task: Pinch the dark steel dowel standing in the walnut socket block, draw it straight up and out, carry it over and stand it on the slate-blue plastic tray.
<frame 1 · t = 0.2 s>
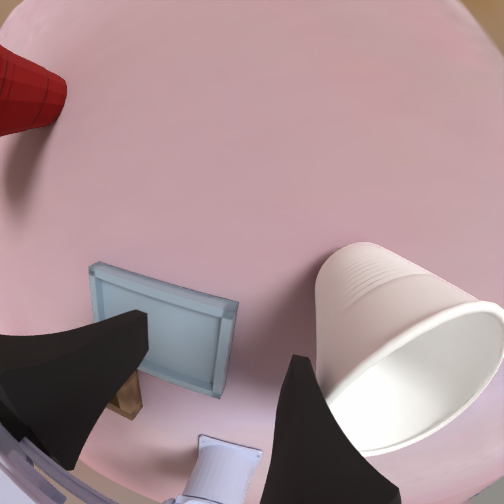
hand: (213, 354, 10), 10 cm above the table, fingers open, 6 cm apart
plastic cup: (54, 101, 20), on the table
socket block: (112, 374, 27), on the table
tray: (158, 328, 23), on the table
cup: (354, 279, 18), on the table, touching gripper
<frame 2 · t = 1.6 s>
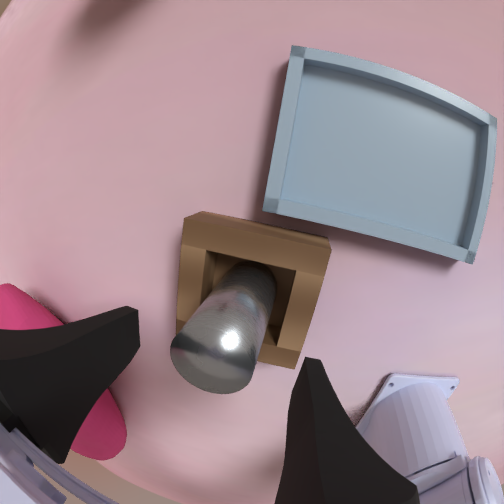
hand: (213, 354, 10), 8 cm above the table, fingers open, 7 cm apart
dowel: (250, 285, 17), point 1 cm above the table, touching socket block
socket block: (252, 282, 18), on the table
tray: (393, 154, 14), on the table
cushion: (82, 361, 25), on the table
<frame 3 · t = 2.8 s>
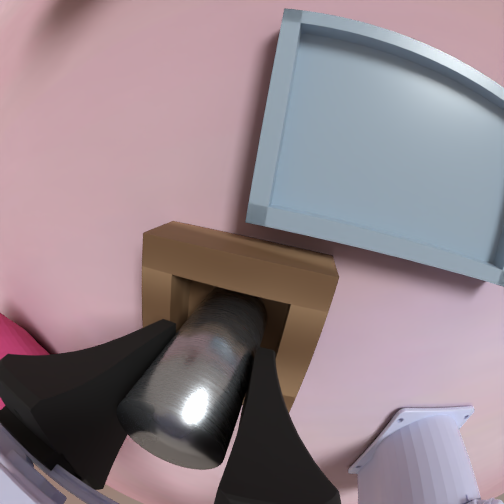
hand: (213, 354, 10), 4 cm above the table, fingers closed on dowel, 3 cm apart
dowel: (234, 314, 14), resting on socket block, touching gripper
socket block: (236, 310, 14), on the table
tray: (417, 147, 10), on the table
cushion: (61, 379, 22), on the table
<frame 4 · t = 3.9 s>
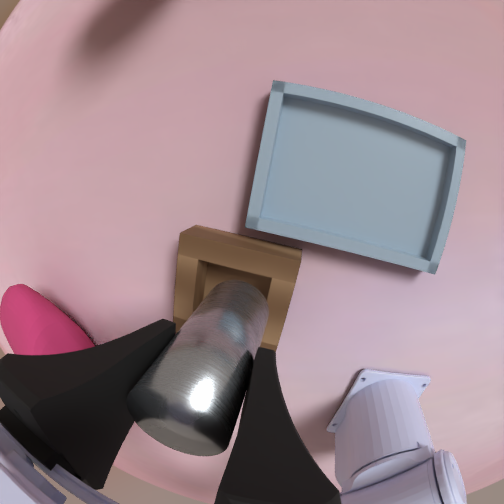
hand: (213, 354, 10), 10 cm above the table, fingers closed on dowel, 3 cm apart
dowel: (236, 309, 14), point 6 cm above the table, touching gripper
socket block: (238, 286, 21), on the table
tray: (362, 176, 17), on the table
cushion: (86, 355, 28), on the table
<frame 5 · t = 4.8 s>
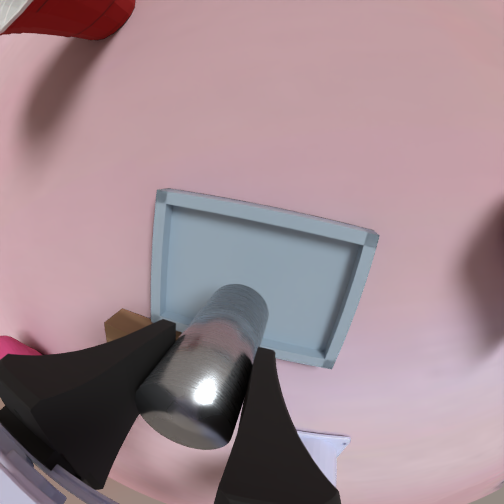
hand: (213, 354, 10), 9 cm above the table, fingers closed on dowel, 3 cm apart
plastic cup: (113, 16, 15), on the table
dowel: (238, 312, 15), point 4 cm above the table, touching gripper
socket block: (160, 357, 23), on the table
tray: (253, 278, 19), on the table
cushion: (66, 386, 30), on the table
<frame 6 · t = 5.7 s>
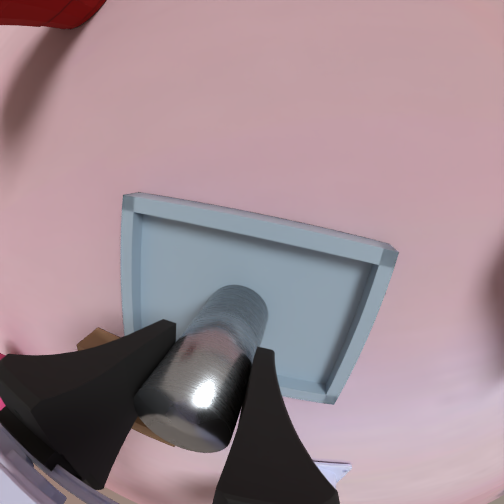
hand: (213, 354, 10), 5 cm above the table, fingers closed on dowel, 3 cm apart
plastic cup: (90, 3, 11), on the table
dowel: (237, 313, 15), point 1 cm above the table, touching gripper, tray
socket block: (141, 381, 19), on the table
tray: (241, 301, 15), on the table
when the fingers open (5 cm above the table, at t = 5.8 s): dowel stays where it is, resting on tray.
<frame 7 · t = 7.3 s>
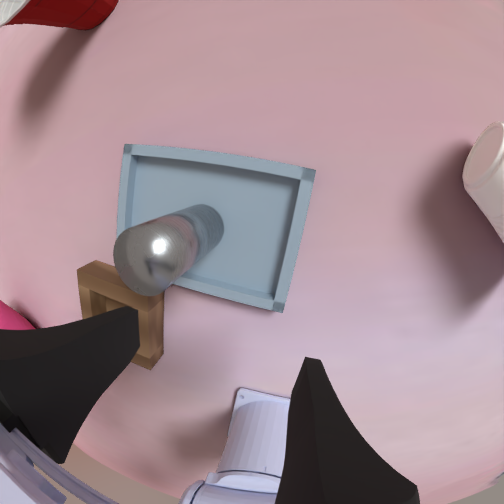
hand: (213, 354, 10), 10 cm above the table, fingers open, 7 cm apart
plastic cup: (101, 10, 16), on the table
dowel: (201, 227, 19), point 1 cm above the table, touching tray
socket block: (128, 308, 24), on the table
tray: (205, 219, 20), on the table
cushion: (49, 354, 31), on the table
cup: (480, 149, 12), point 3 cm above the table
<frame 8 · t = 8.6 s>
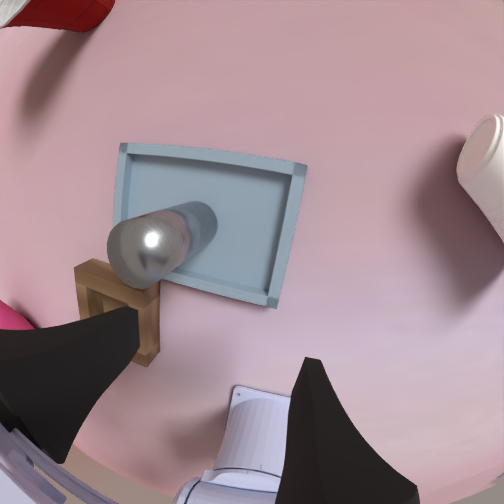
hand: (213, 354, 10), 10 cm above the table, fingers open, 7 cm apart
plastic cup: (97, 12, 16), on the table
dowel: (195, 224, 19), point 1 cm above the table, touching tray
socket block: (124, 306, 24), on the table
tray: (199, 216, 20), on the table
cushion: (48, 353, 32), on the table
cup: (473, 142, 12), point 3 cm above the table
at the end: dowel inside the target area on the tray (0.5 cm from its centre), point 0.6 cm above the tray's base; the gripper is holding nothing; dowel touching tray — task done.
